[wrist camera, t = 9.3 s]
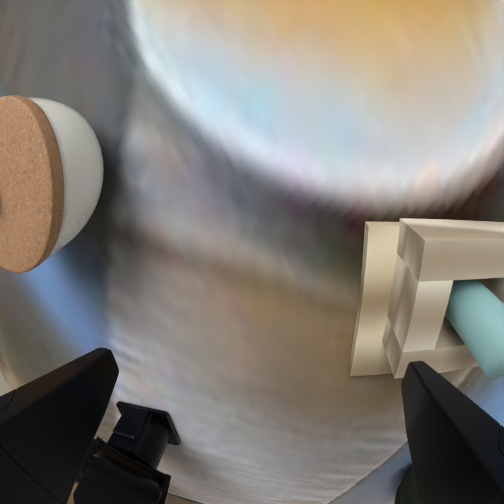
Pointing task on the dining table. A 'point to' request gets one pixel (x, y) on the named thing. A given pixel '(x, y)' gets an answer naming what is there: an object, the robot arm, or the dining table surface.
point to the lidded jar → (44, 179)
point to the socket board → (420, 291)
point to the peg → (479, 323)
